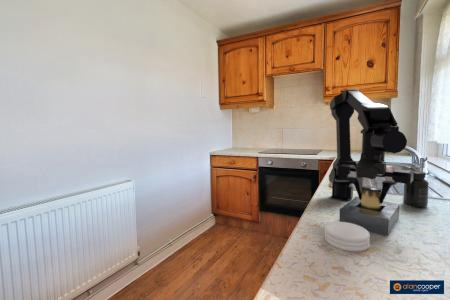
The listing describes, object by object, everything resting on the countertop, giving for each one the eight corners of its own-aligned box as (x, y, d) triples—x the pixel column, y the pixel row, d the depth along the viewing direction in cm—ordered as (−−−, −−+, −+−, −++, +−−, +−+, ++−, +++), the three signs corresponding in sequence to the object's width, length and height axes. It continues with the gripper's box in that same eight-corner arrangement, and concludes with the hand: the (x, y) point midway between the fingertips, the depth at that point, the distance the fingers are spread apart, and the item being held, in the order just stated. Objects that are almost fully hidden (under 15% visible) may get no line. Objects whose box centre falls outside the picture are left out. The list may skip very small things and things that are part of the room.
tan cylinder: (358, 220, 71) (359, 188, 70) (362, 216, 75) (364, 185, 74) (377, 225, 68) (379, 191, 67) (381, 220, 71) (383, 188, 70)
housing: (339, 223, 70) (339, 208, 69) (355, 209, 81) (356, 196, 80) (387, 236, 61) (388, 219, 61) (398, 218, 73) (399, 204, 72)
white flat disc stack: (318, 243, 59) (318, 229, 59) (332, 230, 66) (333, 217, 66) (362, 258, 52) (363, 242, 52) (373, 241, 59) (374, 228, 59)
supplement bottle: (425, 203, 85) (427, 171, 84) (429, 209, 79) (432, 174, 78) (401, 201, 89) (403, 169, 87) (404, 206, 83) (406, 172, 81)
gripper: (329, 149, 70) (328, 201, 71) (409, 154, 57) (405, 216, 58) (343, 147, 78) (341, 193, 79) (415, 150, 65) (411, 205, 66)
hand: (370, 201), depth 71 cm, fingers closed on tan cylinder, 5 cm apart
